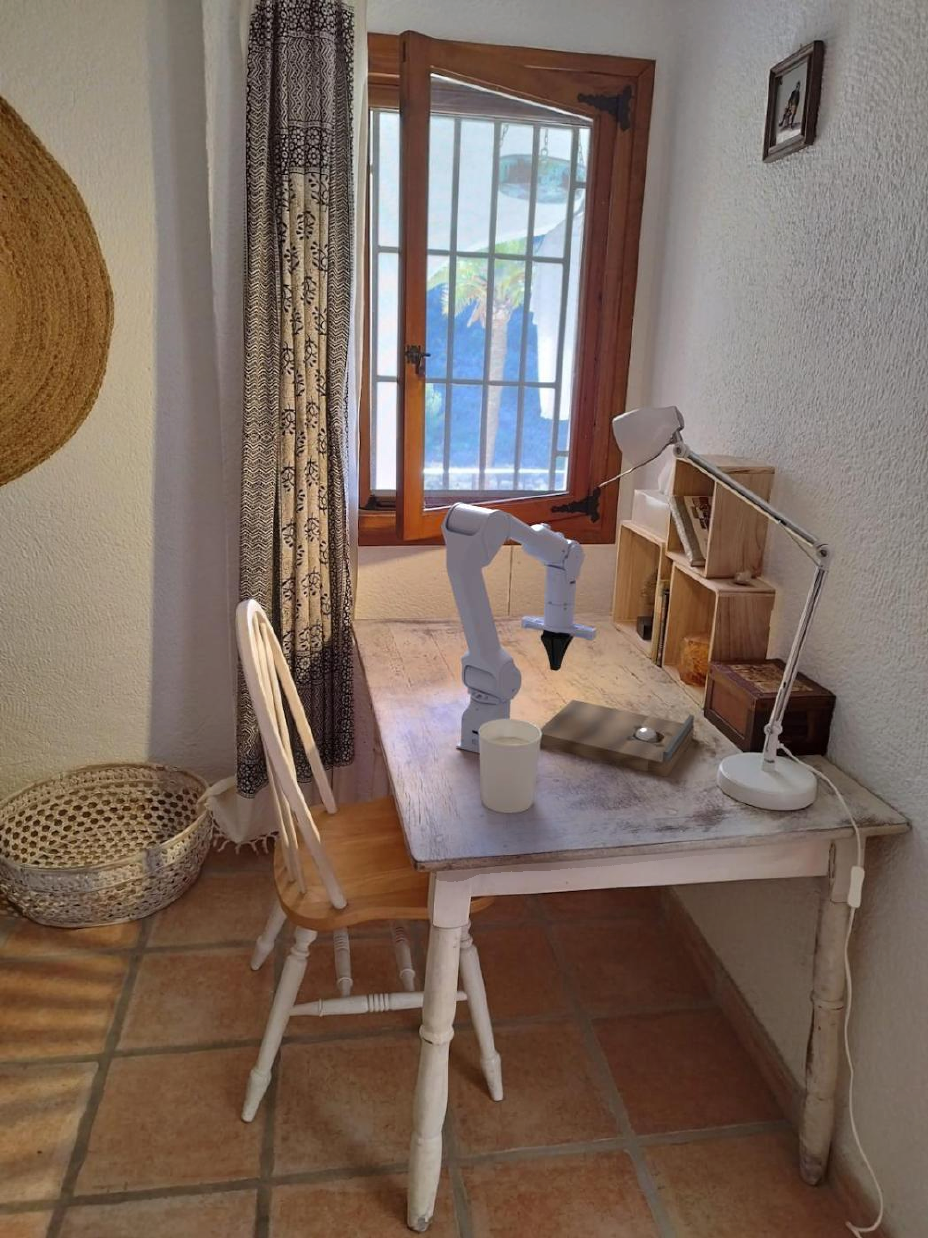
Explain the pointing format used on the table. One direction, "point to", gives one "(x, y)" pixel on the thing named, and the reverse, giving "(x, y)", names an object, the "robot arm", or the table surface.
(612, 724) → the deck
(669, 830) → the table surface
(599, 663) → the table surface
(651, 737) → the ball
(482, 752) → the candle holder
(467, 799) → the table surface
